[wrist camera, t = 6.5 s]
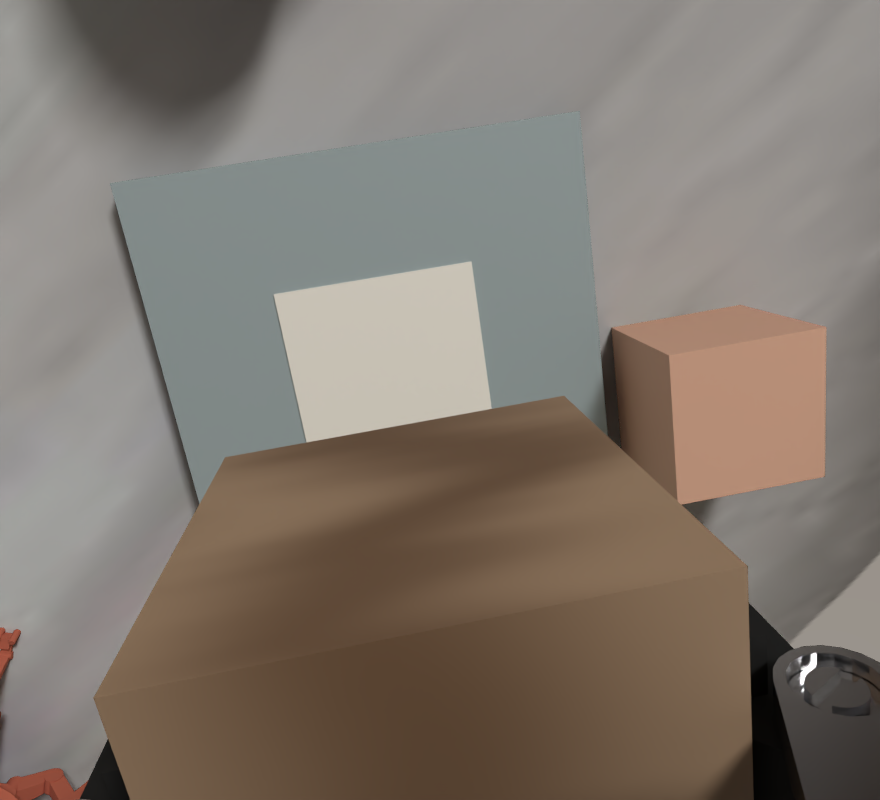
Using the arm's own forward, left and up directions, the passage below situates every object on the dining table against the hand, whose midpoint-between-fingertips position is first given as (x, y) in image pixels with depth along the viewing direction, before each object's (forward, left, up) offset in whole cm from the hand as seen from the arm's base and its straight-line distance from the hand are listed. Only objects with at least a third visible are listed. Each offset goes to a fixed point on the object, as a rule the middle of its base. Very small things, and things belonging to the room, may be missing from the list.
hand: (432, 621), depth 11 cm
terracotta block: (-13, +3, -19) cm, 23 cm away
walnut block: (0, 0, -1) cm, 1 cm away
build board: (0, 0, -19) cm, 19 cm away
